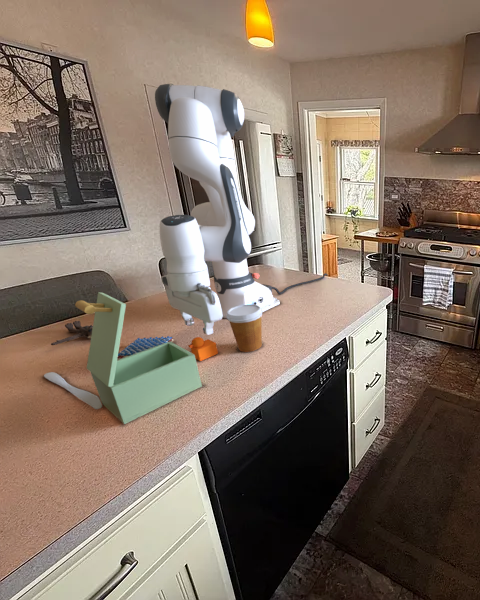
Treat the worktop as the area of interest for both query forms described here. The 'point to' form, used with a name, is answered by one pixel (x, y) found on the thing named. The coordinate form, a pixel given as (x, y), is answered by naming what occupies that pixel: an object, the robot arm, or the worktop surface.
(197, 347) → the rubber duck
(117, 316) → the lid
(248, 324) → the disposable coffee cup
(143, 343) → the woven mat
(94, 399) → the butter knife
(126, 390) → the chest
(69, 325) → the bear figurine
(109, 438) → the worktop surface
